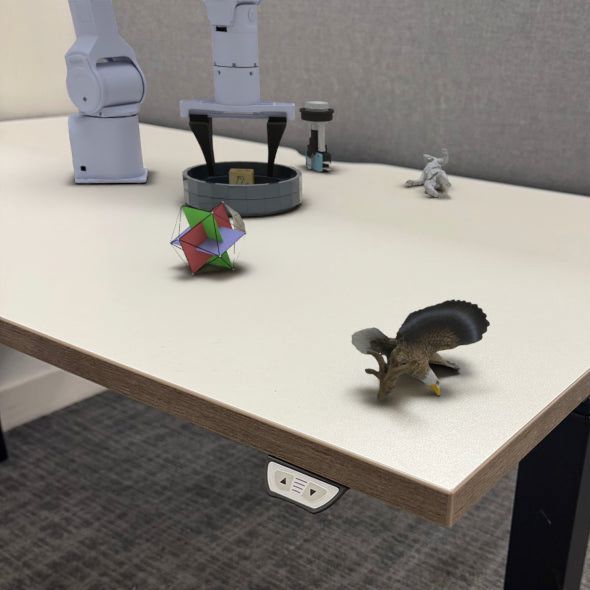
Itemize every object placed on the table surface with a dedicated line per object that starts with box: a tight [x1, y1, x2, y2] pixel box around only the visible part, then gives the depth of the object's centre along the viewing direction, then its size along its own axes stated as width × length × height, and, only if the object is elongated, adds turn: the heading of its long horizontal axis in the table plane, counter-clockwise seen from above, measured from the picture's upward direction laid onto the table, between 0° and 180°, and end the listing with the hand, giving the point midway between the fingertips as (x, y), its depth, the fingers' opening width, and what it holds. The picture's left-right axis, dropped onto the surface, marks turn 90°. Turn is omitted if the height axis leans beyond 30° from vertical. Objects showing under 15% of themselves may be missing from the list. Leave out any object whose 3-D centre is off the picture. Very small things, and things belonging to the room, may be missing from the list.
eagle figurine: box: [351, 299, 491, 402], centre depth 57 cm, size 8×7×9 cm
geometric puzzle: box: [169, 202, 248, 275], centre depth 79 cm, size 7×7×8 cm
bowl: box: [181, 160, 303, 218], centre depth 103 cm, size 15×15×4 cm
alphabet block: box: [229, 169, 254, 185], centre depth 106 cm, size 3×3×3 cm
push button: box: [298, 100, 335, 173], centre depth 123 cm, size 7×5×10 cm
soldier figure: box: [404, 147, 452, 198], centre depth 116 cm, size 8×5×12 cm
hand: (241, 175), depth 106 cm, fingers open, 7 cm apart
